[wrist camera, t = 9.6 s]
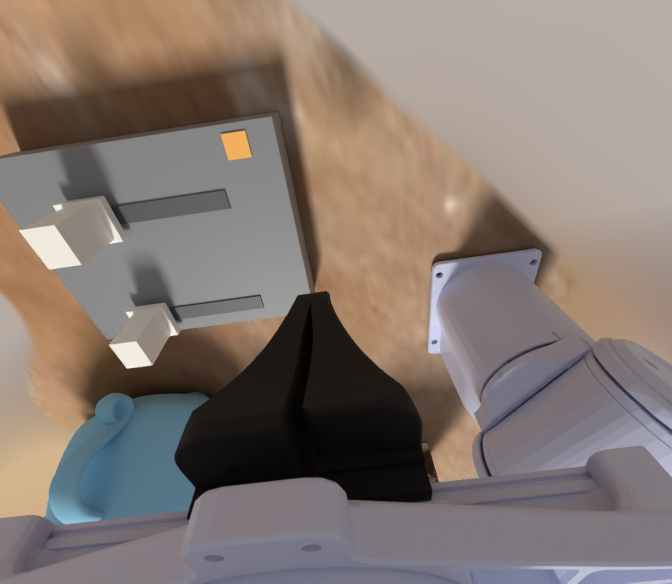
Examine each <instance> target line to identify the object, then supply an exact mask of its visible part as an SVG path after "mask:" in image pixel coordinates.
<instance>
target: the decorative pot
mask: <svg viewBox="0 0 672 584" xmlns="http://www.w3.org/2000/svg"><path fill="white" fill-rule="evenodd" d="M209 399H210V398H208V397H207V396H206V395H204V394H202V393H198V392H191V393H187V394H154V395H147V396H142V397H137V398H133V399H132V398H131V397H130V396H128V395H126V394H122V393H111V394H109V395H106V396H105V397H103V398H102V399H101V400H100V401H99V402H98V404H97V405H96V409H95V416H94V417H92V418H91V419H89V420H88V421H87V422H85V423H84V424H83V425H82V426H81V427H80V428H79V429H78V430H77V431H76V433H75V434H74V436H73V437H72V439H71V440H70V442H69V444H68V446H67V448H66V450H65V452H64V454H63V456H62V458H61V461H60V463H59V465H58V468H57V471H56V474H55V475H54V477H53V480H52V482H51V485H50V489H49V500H48V505H47V511H46V516H45V517H44V518H46V519H48V520H50V521H51V522H52V523H53V524H54V526H55V525H64V524H73V523H82V522H90V521H99V520H108V519H117V518H126V517H135V516H144V515H153V514H162V513H171V512H180V511H189V508H190V504H191V501H192V498H193V494H194V491H195V487H194V486H193V485H192V483H191V482H190V481H189V480H188V479H187V478H186V477H185V475H184V474H183V473H182V472H181V471H180V470H179V468H178V466H177V465H176V463H175V460H174V454H175V452H176V449H177V447H178V444H179V441H180V439H181V436H182V433H183V431H184V428H185V426H186V423H187V421H188V419H189V417H190V415H191V413H192V411H193V410H195V409H196V408H198V407H199V406H200V405H202V404H203V403H205V402H206V401H207V400H209Z"/></svg>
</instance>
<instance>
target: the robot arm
mask: <svg viewBox="0 0 672 584" xmlns="http://www.w3.org/2000/svg"><path fill="white" fill-rule="evenodd" d="M541 257H542V252H541V251H540V250H538V249H527V250H520V251H513V252H505V253H498V254H491V255H484V256H476V257H469V258H462V259H454V260H447V261H440V262H436V263H435V264H434V265H433V266H432V273H431V290H430V307H429V325H428V342H427V350H428V352H429V353H431V354H435V353H440V354H441V356H442V358H443V361H444V363H445V365H446V367H447V370H448V372H449V374H450V376H451V379H452V381H453V383H454V385H455V387H456V390H457V392H458V394H459V396H460V399H461V401H462V403H463V405H464V407H465V408H466V410H467V411H468V412H469V413H470V415H471V416H472V417H474V418H475V419H476V420H477V422H478V424H479V426H480V428H481V430H482V431H481V432H480V433H479V434H478V435H477V436H476V437H475V439H474V442H473V447H472V451H473V460H474V465H475V468H476V471H477V474H478V477H479V478H474V479H466V480H456V481H447V482H438V483H430V480H429V477H428V473H427V469H426V466H425V456H424V453H423V449H422V421H421V418H420V416H419V413H418V411H417V409H416V407H415V405H414V403H413V401H412V400H411V398H410V396H409V395H408V393H407V392H406V390H405V388H404V387H403V386H402V385H401V384H400V383H398V382H397V381H395V380H394V379H393V378H391V377H390V376H389V375H387V374H386V373H385V372H384V371H383V370H381V369H380V368H379V367H378V366H377V365H376V364H375V363H374V362H373V361H372V360H371V359H370V358H369V357H368V356H366V355H365V354H364V352H363V351H362V350H361V349H360V348H359V347H358V346H357V344H356V343H355V342H354V341H353V339H352V338H351V337H350V335H349V334H348V333H347V331H346V330H345V328H344V327H343V325H342V323H341V322H340V320H339V318H338V316H337V315H336V313H335V311H334V308H333V306H332V304H331V300H330V295H329V293H328V292H327V291H324V292H317V293H309V294H302V295H298V296H297V297H296V299H295V301H294V303H293V305H292V307H291V308H290V310H289V312H288V314H287V316H286V317H285V319H284V321H283V322H282V324H281V325H280V327H279V329H278V330H277V331H276V333H275V334H274V336H273V337H272V339H271V340H270V341H269V343H268V344H267V345H266V347H265V348H264V349H263V350H262V352H261V353H260V354H259V355H258V356H257V357H256V359H255V360H254V361H253V362H252V363H251V364H250V365H249V366H248V367H247V368H246V369H245V370H244V371H243V372H242V373H241V374H240V375H239V376H237V377H236V378H235V379H234V380H233V381H232V382H231V383H229V384H228V385H227V386H226V387H225V388H223V389H222V390H221V391H220V392H218V393H217V394H216V395H214V396H213V397H212V398H210V399H209V400H207V401H206V402H205V403H203V404H202V405H200V406H199V407H198V408H196V409H195V410H193V411H192V413H191V415H190V417H189V419H188V421H187V423H186V426H185V428H184V431H183V433H182V436H181V439H180V441H179V444H178V447H177V449H176V452H175V454H174V460H175V463H176V465H177V466H178V468H179V470H180V471H181V472H182V473H183V474H184V475H185V477H186V478H187V479H188V480H189V481H190V482H191V483H192V485H193V486H194V487H195V491H194V494H193V498H192V501H191V504H190V508H189V511H180V512H171V513H162V514H153V515H144V516H135V517H126V518H117V519H108V520H99V521H90V522H82V523H73V524H64V525H55V526H54V524H53V523H52V522H51V521H50V520H48V519H46V518H44V517H41V516H36V515H26V516H17V517H9V518H0V584H672V365H671V364H670V363H668V362H667V361H665V360H664V359H662V358H661V357H659V356H657V355H655V354H654V353H653V352H651V351H649V350H648V349H646V348H644V347H642V346H640V345H638V344H637V343H634V342H632V341H630V340H625V339H612V338H601V339H599V341H598V342H596V341H595V340H593V339H592V338H591V337H590V336H589V335H588V334H587V333H586V332H585V331H584V330H583V329H582V328H581V327H580V326H579V325H578V324H577V323H575V322H574V321H573V320H572V319H571V318H570V317H569V316H568V315H567V314H566V313H565V312H564V311H563V310H562V309H561V308H560V307H559V306H557V305H556V304H555V303H554V302H553V301H552V300H551V299H550V298H549V297H548V296H547V295H546V294H545V293H544V292H543V291H542V290H540V289H539V288H538V287H537V286H536V285H535V284H534V281H535V277H536V274H537V270H538V267H539V264H540V260H541ZM532 260H534V261H533V262H532V263H530V262H531V261H532ZM439 272H441V274H440V275H438V276H436V274H437V273H439ZM433 340H435V341H433Z"/></svg>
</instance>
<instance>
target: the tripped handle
mask: <svg viewBox="0 0 672 584" xmlns="http://www.w3.org/2000/svg"><path fill="white" fill-rule="evenodd" d="M53 207H54V208H55V210H56V212H54V213H52V214H50V215H48V216H46V217H44V218H42V219H40V220H38V221H36V222H34V223H32V224H30V225H28V226H26V227H24V228H22V229H20V230H19V231H20V233H21V234H22V235H23V236H24V238H25V239H26V240H27V242H28V243H29V244H30V246H31V247H32V248H33V249H34V251H35V252H36V253H37V255H38V256H39V257H40V258H41V260H42V261H43V262H44V264H45V265H46V266H47V267H48V269H49V270H50V269H57V268H64V267H71V266H78V265H82V264H84V263H85V262H86V261H87V260H89V259H90V258H91V257H93V256H94V255H95V254H96V253H98V252H99V251H100V250H101V249H103V248H104V247H105V246H106V245H108V244H111V243H118V242H123V241H125V240H126V239H127V238H128V237H127V235H126V234H125V232H124V230H123V228H122V227H121V225H120V223H119V221H118V220H117V218H116V216H115V214H114V212H113V211H112V209H111V207H110V205H109V204H108V202H107V200H106V198H105V197H104V196H97V197H91V198H84V199H77V200H71V201H64V202H59V203H57V204H55V205H53Z"/></svg>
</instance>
